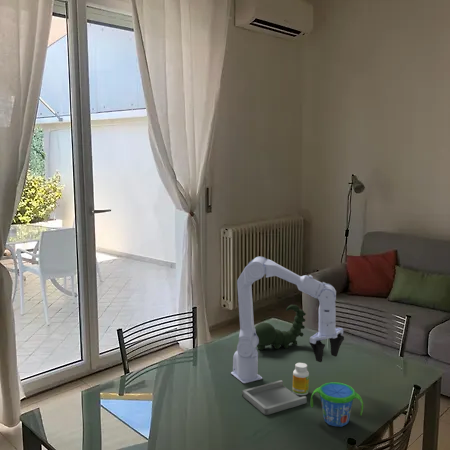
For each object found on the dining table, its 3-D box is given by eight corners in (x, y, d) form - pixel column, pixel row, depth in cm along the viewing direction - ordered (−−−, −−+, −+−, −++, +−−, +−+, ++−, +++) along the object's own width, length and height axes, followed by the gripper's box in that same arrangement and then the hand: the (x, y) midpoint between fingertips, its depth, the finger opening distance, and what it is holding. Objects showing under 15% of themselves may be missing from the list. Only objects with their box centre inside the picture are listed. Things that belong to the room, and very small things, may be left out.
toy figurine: (295, 344, 218) (241, 345, 210) (300, 301, 216) (245, 301, 208) (305, 352, 210) (249, 354, 201) (310, 308, 207) (254, 308, 199)
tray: (242, 396, 169) (242, 390, 168) (281, 385, 176) (281, 380, 176) (265, 415, 157) (265, 409, 156) (306, 403, 164) (306, 397, 164)
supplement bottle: (308, 396, 169) (309, 369, 167) (291, 394, 170) (292, 367, 168) (308, 389, 174) (309, 362, 172) (292, 387, 175) (293, 361, 174)
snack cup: (306, 423, 152) (307, 392, 151) (315, 407, 162) (316, 377, 160) (358, 436, 146) (360, 403, 144) (364, 418, 155) (366, 387, 154)
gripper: (320, 328, 165) (320, 367, 167) (350, 319, 173) (349, 356, 175) (305, 322, 171) (305, 360, 173) (334, 314, 179) (334, 350, 181)
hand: (326, 358), depth 174 cm, fingers open, 7 cm apart
